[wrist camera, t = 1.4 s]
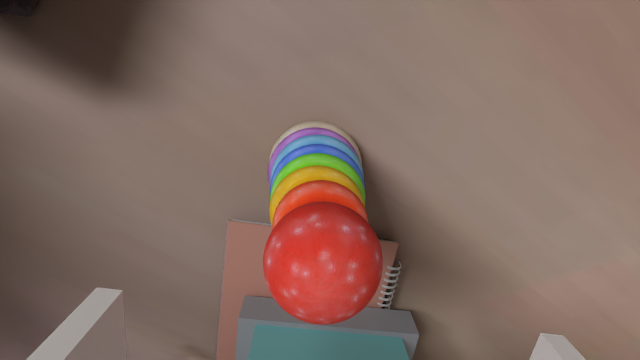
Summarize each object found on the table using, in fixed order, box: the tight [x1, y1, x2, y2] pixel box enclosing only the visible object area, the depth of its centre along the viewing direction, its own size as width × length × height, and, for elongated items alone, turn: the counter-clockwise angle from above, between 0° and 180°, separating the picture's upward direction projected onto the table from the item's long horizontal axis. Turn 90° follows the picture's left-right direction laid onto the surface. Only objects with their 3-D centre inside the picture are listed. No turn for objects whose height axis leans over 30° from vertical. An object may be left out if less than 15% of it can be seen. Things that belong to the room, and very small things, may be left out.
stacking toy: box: [263, 121, 383, 325], centre depth 21 cm, size 8×8×19 cm
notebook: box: [216, 219, 402, 360], centre depth 36 cm, size 27×17×2 cm, turn 171°
